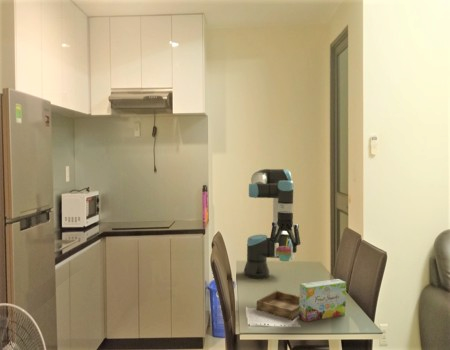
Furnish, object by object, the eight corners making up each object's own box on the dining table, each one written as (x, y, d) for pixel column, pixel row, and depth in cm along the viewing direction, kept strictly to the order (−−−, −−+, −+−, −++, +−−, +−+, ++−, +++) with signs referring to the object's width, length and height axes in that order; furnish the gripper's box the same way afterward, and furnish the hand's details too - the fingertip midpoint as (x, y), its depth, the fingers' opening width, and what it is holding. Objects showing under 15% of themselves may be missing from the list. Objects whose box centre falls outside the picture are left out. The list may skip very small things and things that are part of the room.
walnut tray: (256, 309, 171) (256, 301, 171) (276, 298, 185) (276, 290, 185) (292, 320, 160) (292, 310, 160) (310, 307, 174) (310, 299, 174)
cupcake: (296, 260, 187) (296, 236, 186) (286, 263, 180) (287, 238, 180) (281, 257, 192) (282, 233, 192) (272, 260, 186) (272, 235, 186)
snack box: (306, 322, 158) (306, 287, 157) (298, 317, 163) (299, 283, 162) (346, 315, 166) (346, 281, 166) (337, 310, 171) (338, 277, 171)
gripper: (262, 210, 189) (262, 255, 190) (301, 214, 176) (300, 262, 177) (270, 209, 195) (269, 253, 196) (308, 212, 182) (307, 259, 183)
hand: (284, 257), depth 186 cm, fingers closed on cupcake, 8 cm apart
